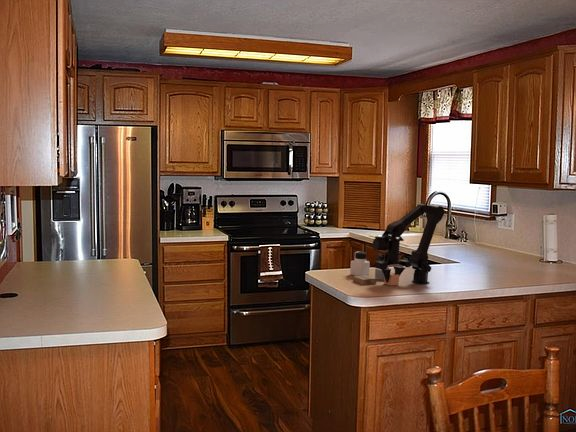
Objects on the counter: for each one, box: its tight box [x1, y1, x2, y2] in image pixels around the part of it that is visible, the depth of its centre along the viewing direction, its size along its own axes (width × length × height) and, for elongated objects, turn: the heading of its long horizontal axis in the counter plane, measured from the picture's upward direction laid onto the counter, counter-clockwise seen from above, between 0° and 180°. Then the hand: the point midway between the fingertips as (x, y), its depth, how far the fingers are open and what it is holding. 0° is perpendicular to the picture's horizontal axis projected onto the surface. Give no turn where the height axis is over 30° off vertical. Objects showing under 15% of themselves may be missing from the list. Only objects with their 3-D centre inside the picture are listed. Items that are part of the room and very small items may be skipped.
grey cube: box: [374, 268, 384, 281], centre depth 306 cm, size 5×5×5 cm
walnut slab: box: [352, 275, 378, 286], centre depth 296 cm, size 8×8×3 cm
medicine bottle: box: [349, 251, 371, 276], centre depth 314 cm, size 7×7×12 cm
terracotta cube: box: [383, 272, 400, 287], centre depth 294 cm, size 5×5×5 cm
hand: (391, 281), depth 294 cm, fingers closed on terracotta cube, 5 cm apart
